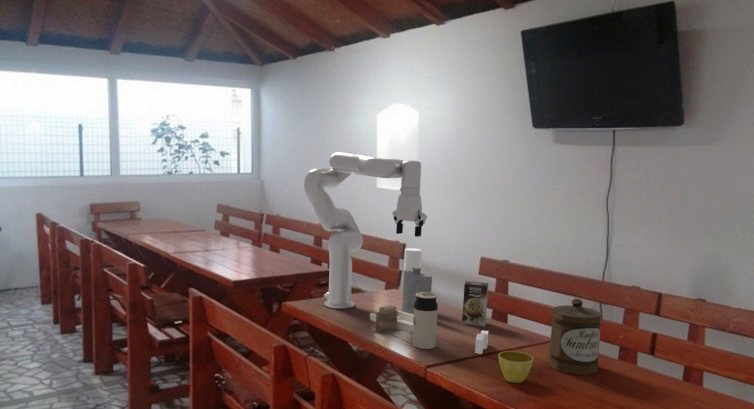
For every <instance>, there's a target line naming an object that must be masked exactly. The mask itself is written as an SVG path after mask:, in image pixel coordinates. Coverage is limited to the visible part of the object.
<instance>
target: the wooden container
mask: <svg viewBox="0 0 754 409" xmlns="http://www.w3.org/2000/svg"><path fill="white" fill-rule="evenodd" d="M583 302H584V301H583V300H581V298H573V299H572V300H571V305H567V304H566V305H557V306H555V307H553V308H552V314H551V316H552V321H551V329H550V330H551V332H550V342H549V353H548V354H549V355H548V356H549V358H548V364H549V366H550V368H553V369H554V370H556V371H558V372H562V373H565V374H570V375H578V376H580V375H582V376H583V375H585V376H586V375H592V374H595V373H597V371H598V366H599V355H600V354H599V353H600V339H601V338H600V337H601V320H602V314H601V312H600V311H598V310H596V309H594V308H591V307H590V308H589V307H586V306H583V304H584V303H583Z"/></svg>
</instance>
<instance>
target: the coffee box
mask: <svg viewBox="0 0 754 409" xmlns="http://www.w3.org/2000/svg"><path fill="white" fill-rule="evenodd" d="M463 287H464V288H463V301H462V302H463V304H462V315H461V316H462V318H461V324H463V325H468V326H478V327H486V323H487V310H488V309H487V306H488V305H487V304H488V293H489V291H488V290H489V283H488V282H479V281H470V280H469V281H467V280H466V281H465V282H464V285H463Z"/></svg>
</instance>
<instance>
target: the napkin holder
mask: <svg viewBox="0 0 754 409" xmlns="http://www.w3.org/2000/svg"><path fill="white" fill-rule="evenodd" d="M488 341H489V330H481V331H480V333H477V334H476V337H475V344H474V354H475V353H477V355H482V354H483V352H484V350H486V349H488V345H489V342H488Z"/></svg>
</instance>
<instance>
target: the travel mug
mask: <svg viewBox="0 0 754 409" xmlns="http://www.w3.org/2000/svg"><path fill="white" fill-rule="evenodd" d="M415 295H416V301H415V303H414V321H413V333H412V346H413V347H414V348H416V349H420V350H432V349H434V348H436V347H437V345H436V344H437V327H438V326H437V325H438V308H439V306H438V302H437V298H438V294H437V293H435V292H431V293H430V292H419V293H416V294H415Z"/></svg>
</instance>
